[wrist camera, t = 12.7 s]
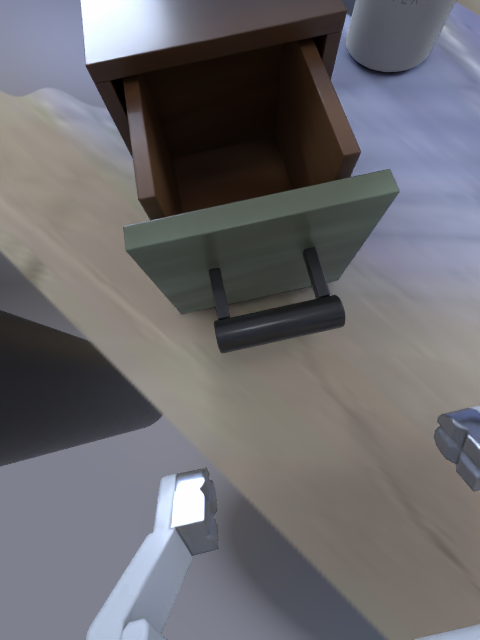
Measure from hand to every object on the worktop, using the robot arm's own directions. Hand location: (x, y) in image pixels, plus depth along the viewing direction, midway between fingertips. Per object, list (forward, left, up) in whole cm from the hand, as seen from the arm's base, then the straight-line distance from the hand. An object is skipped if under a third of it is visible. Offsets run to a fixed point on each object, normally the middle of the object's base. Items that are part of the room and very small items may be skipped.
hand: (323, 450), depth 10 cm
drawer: (0, +13, -8) cm, 16 cm away
